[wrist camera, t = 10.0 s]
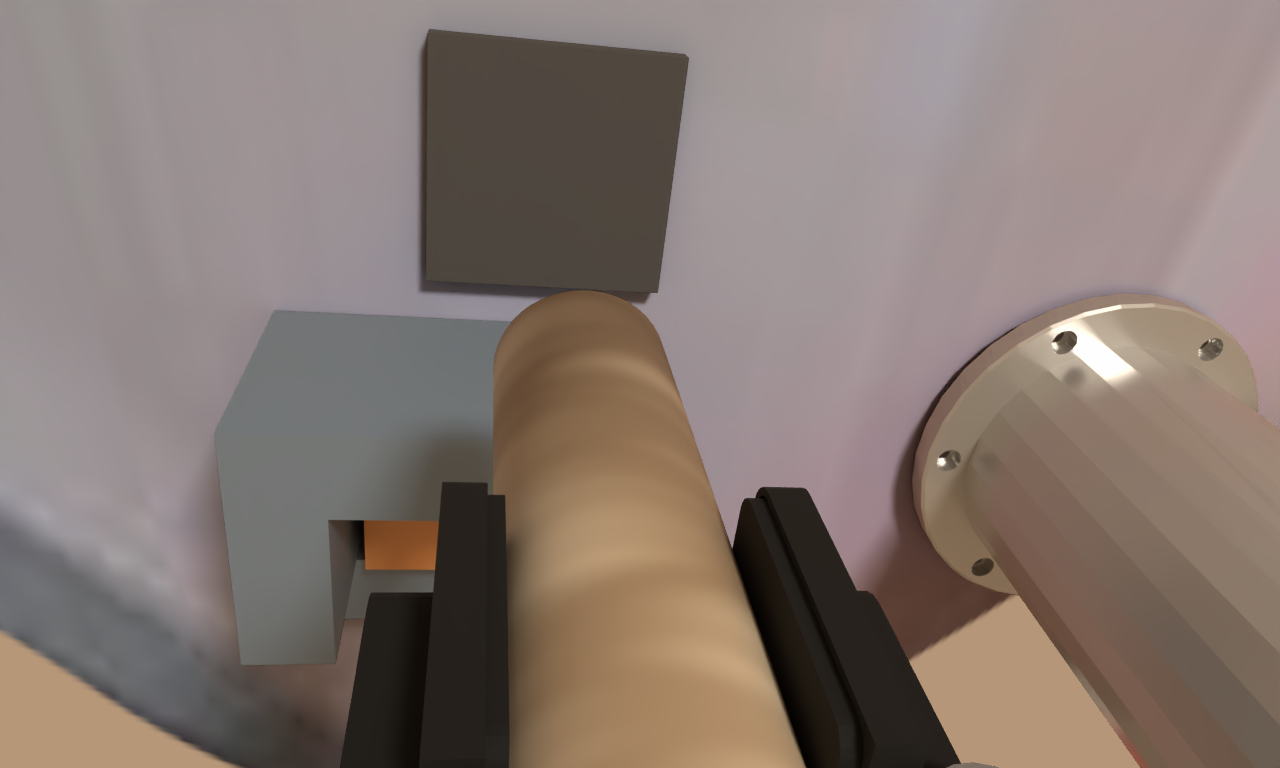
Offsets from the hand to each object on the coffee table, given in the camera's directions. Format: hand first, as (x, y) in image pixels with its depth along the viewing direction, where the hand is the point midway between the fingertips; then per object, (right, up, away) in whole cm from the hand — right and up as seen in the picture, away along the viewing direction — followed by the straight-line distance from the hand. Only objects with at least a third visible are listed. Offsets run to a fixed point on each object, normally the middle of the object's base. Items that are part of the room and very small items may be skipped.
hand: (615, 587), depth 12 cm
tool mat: (-2, +9, +16) cm, 18 cm away
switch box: (-6, 0, +20) cm, 21 cm away
